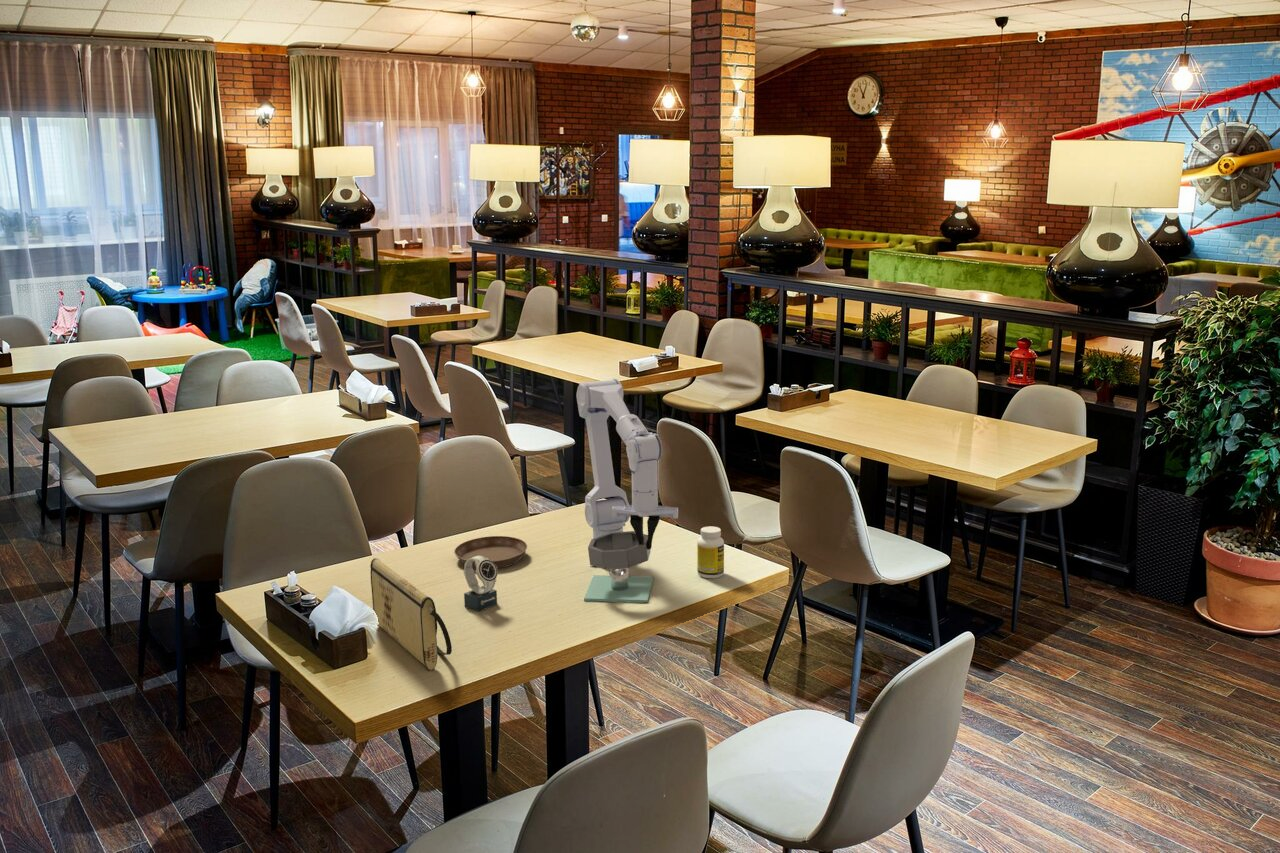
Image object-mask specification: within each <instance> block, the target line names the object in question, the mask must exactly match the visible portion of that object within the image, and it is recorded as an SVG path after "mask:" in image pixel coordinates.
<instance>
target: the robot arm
mask: <svg viewBox="0 0 1280 853" xmlns="http://www.w3.org/2000/svg"><path fill="white" fill-rule="evenodd" d="M576 403H577V408H578V414H579V415H578V416H579V417H581V418H582V419H585V424H586V431H587V437H588V444H589V446H588V448H589V454H590V459H591V461H590V462H591V469H592V477H593V483H594V486H593V488H592V489H591V490H590V491H589V492H588V493H587V494H586V495H585V497H584V505H585V507H584V517H585V520H586V523H587V524H588V526H589V527H591V528H592V539H594V538H597V537H599V536H602V535H605V534H608V533H612V532H624V527H626V523H627V522H629V523H630V526H631V527H632V529H633V531H635V533H636V536H637V539H638V542H639V544H641V543H642V541H643V534H644V518H647V520H646V524H647V535H648V544H647V548H648V549H650V550H651V549H652V546H653V545H652V544H653V538H654V534H655V532H656V529H657V527H658V524H659V522H660V519H661V518H672V519H678V518H679V507H673V506H664V505H659V494H658V493H659V487H658V486H659V485H658V484H659V483H658V482H659V481H658V479H659V476H658V468H659V467H658V461H659V460H660V459H661V458H662V456H663V445H662V440H661V439H660V437H659V435H658V434H657V433H653V432H652V431H651V432H649V430H648V429H647V428H646V427H645V425H644V423H643V422H642V421H641V419H640V418H639V416H638V415H636V414H633V413H630V410H629V409H628V407H627V405H626V403H625V401H624V387H623V385H622V383H621V381H620V380H619V379H618V378H613V379H606V380H598V381H597V380H596V381H595V380H594V381H589V382H586V381H581V382H580V383H579V384H578V386H577V390H576ZM610 416H611V418H613V420H614V421H615V422H616V426H615V431H616V432H617V434H618V435H619V437H620V439H621V440H622V441H623V443H624V445H626V447H625V448H626V449H625V450H626V454H627V455H626V456H627V459H628V466H629V470H630V471H631V504H630V503H629V500H628V497H627V493H626V491H625V490H623V489H622V488H620V487H619V486H617V485H616V481H615V475H614V467H613V459H612V452H611V445H610V436H609V430H608V429H609V428H608V422H607V420H608V418H609V417H610ZM611 497H614V498H611ZM605 498H606V499H605ZM589 565H590V564H589ZM591 566H592V567H594V566H593V565H590V567H591Z"/></svg>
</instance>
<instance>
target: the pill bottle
mask: <svg viewBox="0 0 1280 853" xmlns="http://www.w3.org/2000/svg"><path fill="white" fill-rule="evenodd" d="M721 536H722V530H721V528H720V527H718V526H710V525H709V526H703V527H702V528H700V537H699V538H698V539H697V544H696V546H697V548H696V549H697V550H696V551H697V552H696V553H697V560H696V561H697V562H696V564H697V567H696V569H697V574H698V576H699V577H701V578H704V579H705V578H706V579H718V578H721V577H722V576H723V575H724V572H725V541H724V539H723V538H722V537H721Z"/></svg>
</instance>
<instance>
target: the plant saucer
mask: <svg viewBox="0 0 1280 853" xmlns="http://www.w3.org/2000/svg"><path fill="white" fill-rule="evenodd" d="M527 549H528V544H527V543H526V541H524V540H523V539H520V538H516V537H513V536H506V535H505V536H502V535H491V536H481V537H477V538H472V539H470V540H467V541H464V542H462V543H460V544H458V545H457V546H456V547H455V548H454V552H453V553H454V555H455V556H456V558H457V559H458V560H459V561H460V562H461V563H462V564H464V565H465V562H466V561H467V560H468V559H470V558H473V557H475V556H483V557H485V558H487V559H489V560H490V561H492V562H493V563H494V564H495V565H496V566H497V569H500V568H505V567H509V566H512V565H513V564H516V563H517V562H518V561H520V559H521V558H522V557H523V556H524V555H525V553H526V551H527ZM472 569H476V565H475V560H474V561H473V563H472Z"/></svg>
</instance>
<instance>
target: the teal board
mask: <svg viewBox="0 0 1280 853" xmlns="http://www.w3.org/2000/svg"><path fill="white" fill-rule="evenodd" d="M654 580H655V579H654V576H641V575H639V576H637V575H634V576H633V575H631V576H630V575H628V584H629V588H628V589H626V590H622V591H617V590H613V589H611V575H604V574H603V575H599V574H597V575H596V574H594V575H592V578H591V580H590V583H589V585H588V587H587V589H586V592H585V595H584V597H583V601H584V602H608V603H609V602H610V603H611V602H612V603H614V602H615V603H640V602H647V603H648V602H649V600H650V594H651V590H652V587H653V584H652V583H654Z"/></svg>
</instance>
